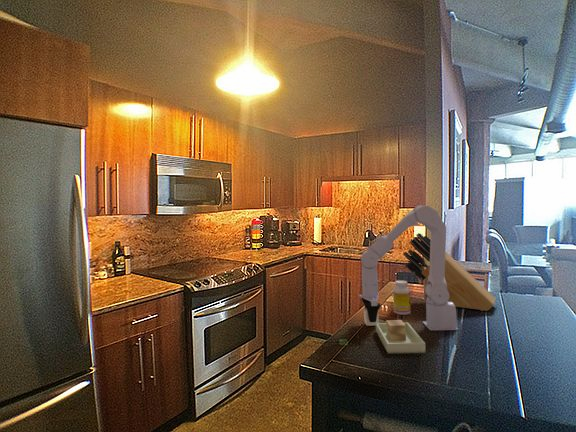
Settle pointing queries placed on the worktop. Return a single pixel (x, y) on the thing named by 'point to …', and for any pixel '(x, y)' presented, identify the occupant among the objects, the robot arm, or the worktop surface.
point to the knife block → (450, 277)
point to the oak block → (396, 330)
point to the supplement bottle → (401, 298)
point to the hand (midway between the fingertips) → (371, 319)
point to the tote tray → (406, 346)
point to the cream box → (368, 318)
